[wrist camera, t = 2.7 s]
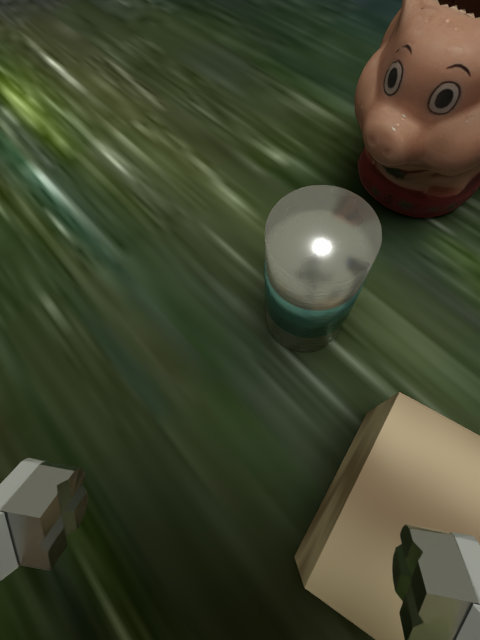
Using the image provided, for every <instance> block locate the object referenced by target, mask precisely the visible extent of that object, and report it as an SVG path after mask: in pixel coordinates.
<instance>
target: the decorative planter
mask: <svg viewBox="0 0 480 640" xmlns="http://www.w3.org/2000/svg"><path fill="white" fill-rule="evenodd" d="M355 114H356V118H357V121H358V123H359V126H360V128H361V131H362V135H363V141H364V144H365V146H364V149H363V151H362V153H361V154H360V157H359V160H358V171H359V177H360V180H361V182H362V184H363V186H364V187H365V189H366V190H367V191H368V192H369V194H370V195H371V196H372V197H373V198H375V199H376V200H377V201H378V202H379V203H381V204H382V205H384V206H386V207H387V208H389V209H391V210H393V211H396V212H398V213H401V214H404V215H407V216H412V217H434V216H439V215H444V214H446V213H449V212H451V211H453V210H454V209H456V208H457V207H459V206H460V205H461V204H463V203H464V202H465V201H466V200H468V199H469V198H470V197H471V196H472V195H473V194H474V193H475V192H476V191H477V190H478V189H479V188H480V0H403V1H402V8H401V9H400V10H399V12H398V13H397V14H396V16H395V17H394V19H393V20H392V22H391V23H390V25H389V27H388V29H387V31H386V33H385V35H384V37H383V40H382V42H381V45H380V48H379V50H378V51H377V52H376V53H375V54H374V55H373V56H372V57H371V59H370V60H369V61H368V63H367V64H366V66H365V67H364V69H363V71H362V74H361V76H360V78H359V80H358V84H357V88H356V92H355Z"/></svg>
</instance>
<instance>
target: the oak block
mask: <svg viewBox="0 0 480 640" xmlns="http://www.w3.org/2000/svg"><path fill="white" fill-rule="evenodd" d="M405 524H407V525H413V526H420V527H426V528H432V529H438V530H444V531H448V532H454V533H460V534H466V535H472V536H474V537H475V538H476V539H477V540H478V543H479V545H480V436H479V435H477V434H475V433H474V432H472V431H470V430H468V429H466V428H465V427H463V426H461V425H459V424H457V423H455V422H454V421H452V420H450V419H448V418H446V417H444V416H443V415H441V414H439V413H437V412H435V411H433V410H432V409H430V408H428V407H426V406H424V405H422V404H421V403H419V402H417V401H415V400H413V399H411V398H410V397H408V396H406V395H404V394H402V393H401V392H399V393H397V394H396V395H394V396H393V397H391V398H389V399H388V400H386V401H385V402H383V403H381V404H380V405H378V406H377V407H375V408H373V409H372V410H370V411H369V412H367V414H366V416H365V418H364V420H363V422H362V424H361V426H360V428H359V430H358V432H357V434H356V436H355V438H354V440H353V441H352V443H351V445H350V447H349V449H348V451H347V453H346V455H345V457H344V459H343V461H342V463H341V465H340V467H339V469H338V471H337V473H336V475H335V477H334V479H333V481H332V483H331V485H330V487H329V489H328V491H327V493H326V495H325V497H324V499H323V501H322V503H321V505H320V507H319V509H318V511H317V513H316V515H315V517H314V519H313V521H312V523H311V525H310V527H309V529H308V530H307V532H306V534H305V536H304V538H303V540H302V542H301V544H300V546H299V548H298V550H297V552H296V554H295V556H294V557H295V560H296V563H297V567H298V570H299V573H300V576H301V579H302V582H303V585H304V588H305V589H307V590H308V591H309V592H311V593H312V594H314V595H315V596H316V597H318V598H319V599H320V600H322V601H323V602H325V603H326V604H327V605H329V606H330V607H331V608H333V609H334V610H336V611H337V612H338V613H340V614H341V615H342V616H344V617H345V618H347V619H348V620H349V621H351V622H352V623H353V624H355V625H356V626H358V627H359V628H360V629H362V630H363V631H365V632H366V633H367V634H369V635H370V636H371V637H373V638H374V639H376V640H405V639H404V634H403V629H402V624H401V619H400V614H399V612H400V609H401V606H402V603H403V601H402V600H401V599H400V597H399V596H398V595H397V593H396V592H395V588H394V583H393V574H392V563H393V555H394V552H395V548H396V547H397V546H399V545H401V544H402V542H401V538H400V533H401V530H402V527H403V526H404V525H405Z"/></svg>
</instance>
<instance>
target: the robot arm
mask: <svg viewBox="0 0 480 640" xmlns="http://www.w3.org/2000/svg"><path fill="white" fill-rule="evenodd" d="M84 480H85V475H84V470H83V469H81V468H77V467H73V466H68V465H63V464H58V463H53V462H48V461H42V460H37V459H32V458H27V459H25V460H23V461H22V462H20V463H19V465H18V466H17V467H16V468H15V469H14V470H13V471H12V472H11V473H10V474H9V475H8V476H7V477H6V479H5V480H4V481H3V482H2V483H1V484H0V581H1V580H2V579H4V578H5V577H6V576H8V575H9V574H10V573H11V572H13V571H14V570H15V569H17V568H18V565H22V566H28V567H33V568H39V569H45V570H50V571H51V570H52V569H53V567H54V565H55V564H56V562H57V561H58V559H59V557H60V556H61V554H62V552H63V551H64V549H65V548H66V546H67V541H66V536H67V535H69V534H70V533H72V532H73V531H75V530H76V529H77V528H78V526H79V525H80V523H81V521H82V519H83V517H84V514H85V511H86V508H87V502H88V495H87V491H86V490H85V488H84V487H83V486H82V485H81V484H82V483H83V481H84ZM400 538H401V542H402V544H401V545H399V546H397V547H396V548H395V552H394V555H393V563H392V574H393V583H394V588H395V592H396V593H397V595H398V596H399V597H400V599H401V600H402V601H403V603H402V606H401V609H400V612H399V614H400V619H401V624H402V629H403V634H404V639H405V640H480V545H479V543H478V540H477V539H476V538H475V537H474V536H472V535H466V534H460V533H454V532H448V531H444V530H438V529H432V528H426V527H420V526H413V525H407V524H405V525H404V526H403V527H402V530H401V533H400Z"/></svg>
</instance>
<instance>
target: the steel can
mask: <svg viewBox="0 0 480 640" xmlns="http://www.w3.org/2000/svg"><path fill="white" fill-rule="evenodd" d="M381 242H382V229H381V224H380V221H379V219H378V216H377V215H376V213H375V211H374V210H373V208H372V207H371V206H370V205H369V204H368V203H367V202H366V201H365V200H364V199H363V198H361V197H360V196H358V195H357V194H355V193H353V192H351V191H349V190H346V189H344V188H340V187H336V186H330V185H313V186H307V187H303V188H300V189H297V190H295V191H293V192H291V193H289V194H287V195H286V196H285V197H283V198H282V199H281V200H280V201H279V202H278V203H277V204H276V205H275V206H274V207H273V209H272V210H271V212H270V214H269V216H268V219H267V222H266V227H265V302H266V321H267V325H268V328H269V331H270V333H271V334H272V336H273V337H274V338H275V339H276V341H277V342H279V343H280V344H281V345H283V346H284V347H286V348H288V349H290V350H293V351H297V352H313V351H317V350H320V349H322V348H324V347H326V346H328V345H329V344H330V343H331V342H332V341H333V340H334V339H335V338H336V336H337V335H338V333H339V331H340V329H341V327H342V325H343V323H344V321H345V320H346V318H347V317H348V315H349V313H350V311H351V309H352V307H353V305H354V303H355V301H356V299H357V297H358V295H359V293H360V291H361V289H362V286H363V284H364V282H365V279H366V276H367V274H368V272H369V270H370V268H371V266H372V264H373V262H374V260H375V258H376V256H377V254H378V252H379V250H380V246H381Z"/></svg>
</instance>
